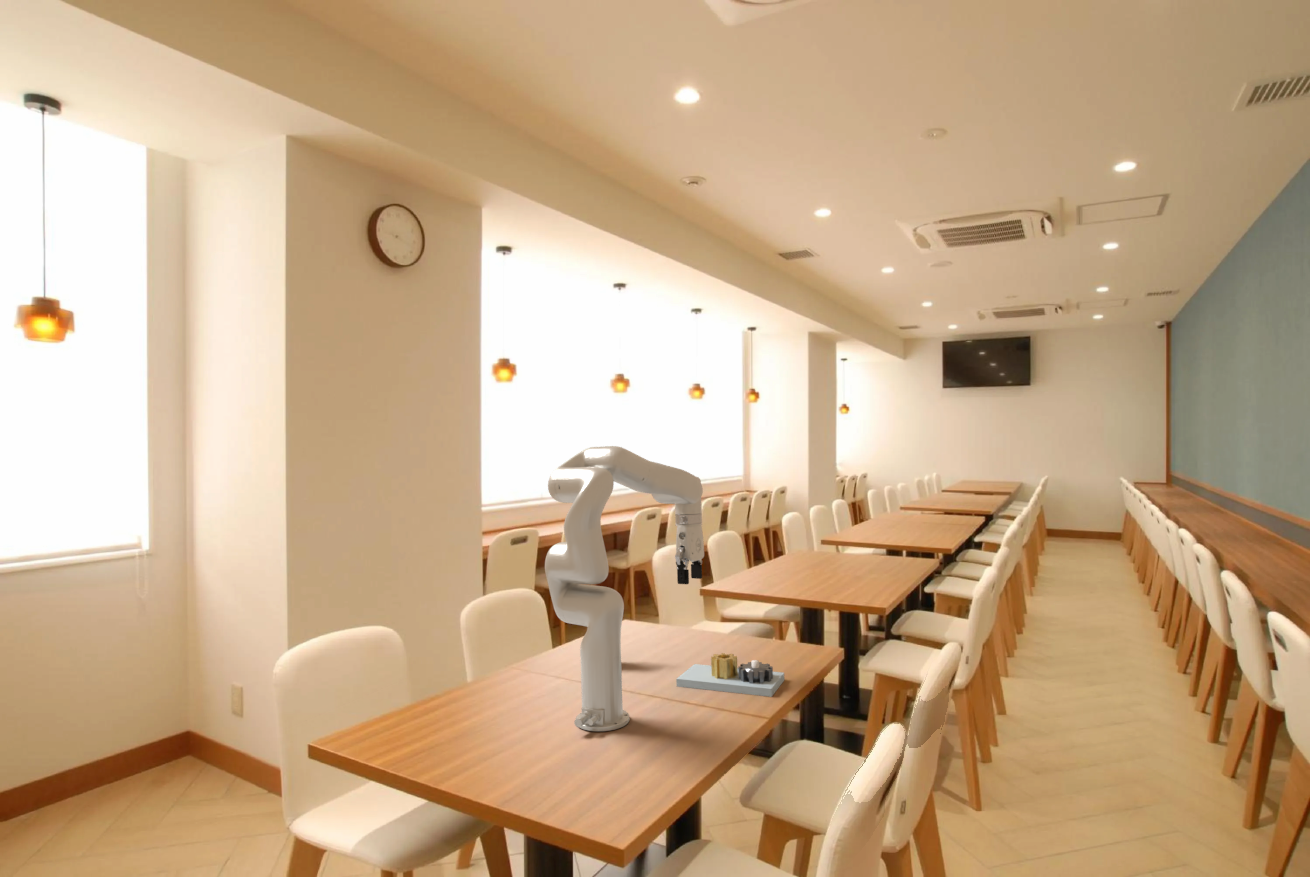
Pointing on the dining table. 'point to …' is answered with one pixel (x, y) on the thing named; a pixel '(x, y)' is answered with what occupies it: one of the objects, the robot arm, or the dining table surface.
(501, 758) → the dining table surface
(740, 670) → the steel gear
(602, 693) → the robot arm
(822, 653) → the dining table surface
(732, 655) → the brass gear
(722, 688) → the board
